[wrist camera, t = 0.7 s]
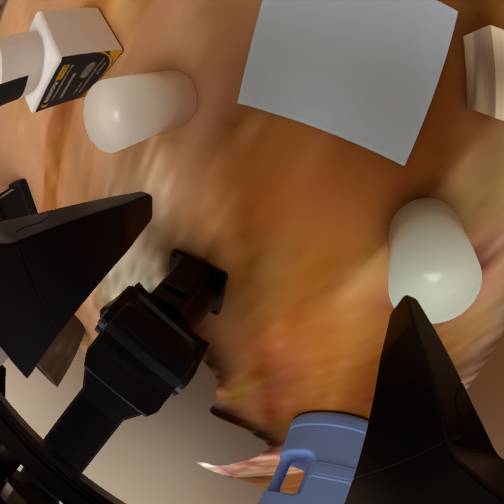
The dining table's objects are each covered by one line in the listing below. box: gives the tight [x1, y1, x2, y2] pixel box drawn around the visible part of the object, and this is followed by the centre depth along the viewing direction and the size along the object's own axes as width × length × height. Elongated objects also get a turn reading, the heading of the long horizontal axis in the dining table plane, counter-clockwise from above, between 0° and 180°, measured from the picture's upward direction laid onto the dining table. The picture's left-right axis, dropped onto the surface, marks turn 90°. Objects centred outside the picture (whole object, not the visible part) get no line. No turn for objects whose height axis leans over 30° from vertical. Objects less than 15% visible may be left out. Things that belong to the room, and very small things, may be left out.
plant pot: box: [36, 315, 85, 387], centre depth 53 cm, size 15×15×16 cm
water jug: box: [258, 412, 369, 504], centre depth 29 cm, size 16×16×28 cm
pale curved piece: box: [388, 198, 482, 324], centre depth 16 cm, size 6×6×6 cm
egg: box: [83, 70, 197, 153], centre depth 17 cm, size 5×5×7 cm
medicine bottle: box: [0, 8, 122, 113], centre depth 15 cm, size 7×7×12 cm
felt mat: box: [237, 0, 458, 166], centre depth 13 cm, size 12×12×1 cm
